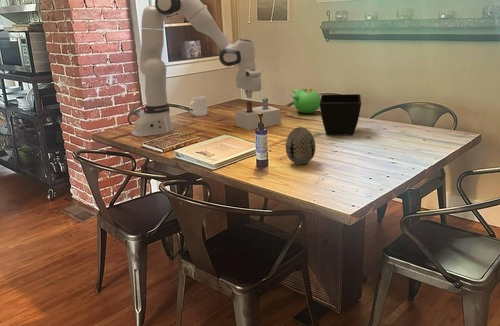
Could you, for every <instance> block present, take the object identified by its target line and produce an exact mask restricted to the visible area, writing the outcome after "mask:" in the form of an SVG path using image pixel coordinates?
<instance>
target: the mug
mask: <svg viewBox="0 0 500 326" xmlns="http://www.w3.org/2000/svg"><path fill="white" fill-rule="evenodd" d="M191 107H192V110H191ZM189 111H190V113H191V114H192V115H193V116H194V117H204V116H207V114H208V106H207V97H206V96H204V95H203V96H202V95H199V96H198V95H196V96H193V97H191V102H190V104H189Z"/></svg>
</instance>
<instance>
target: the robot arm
mask: <svg viewBox="0 0 500 326" xmlns="http://www.w3.org/2000/svg"><path fill="white" fill-rule="evenodd" d="M178 14H181V15H183V16H184V17H185V19H186V20H187V21H188V22H189V24H190V25H191V26H192V27H193V28H194V29H195V30H196V31H197V32H198V33H202V34H204V35H206V36H208V37H210V38H211V39H212V41H214V43H215V44H216V46H217V47H218V48H219V49H220V52H219V54H218V56H219V57H218V58H219V61H220V63H221V64H222V65H223V66H225V67H233V66H238V71H237V74H236V78H235V80H236V81H235V83H236V87H237V88H238V89H242V90H243V92H244V93H245V98H246V99H252V98H253V93H254V92H261V90H262V78H261V76H262V72H261V71H260V70H259V69H258V68H257V67H256V66H257V65H256V61H255V58H256V52H255V46H254V45H255V44H254V43H253V41H252V40H250V39H245V38H239V39H237V41H236V42H234V43H232V42H231V41H230V40H229V38H228V37H226V34H224V33H223V31H222V30H221V29H220V27H219V26H218V24H217V23H216V21H215V20H214V17H213V16H212V14H211V13H210V11H209V10H208V9H207V7H206V6H205V4H204V3H203V2H202V1H201V0H155V1H154V5H148V6H146V7H144V9H143V10H142V14H141V15H142V17H141V26H140V27H141V47H140V48H141V49H140V55H139V56H140V58H139V70H140V73H142V75H143V76H144V83H145V84H144V94H145V102H146V105H145V106H144V105H141V106H140V109H141V111H143V113H142V115H140V116H139V117H138V118H137V120H135V123H134V129H133V130H131V132H130V133H131V135H132V136H134V137H138V138H139V137H141V138H143V137H149V136H156V135H164V134H168V133H169V132H172V131H173V130H174V129H175V128H174V126H173V122H172V119H171V116H170V106H169V105H170V104H169V101H168V96H167V66H166V63H165V62H164V61H163V60H162V57H163V56H162V54H163V49H164V45H165V44H164V42H165V41H164V40H165V39H164V34H165V33H164V23H165V22H164V21H165V19H166V18H170V17H174V16H176V15H178Z"/></svg>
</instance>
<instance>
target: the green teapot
mask: <svg viewBox="0 0 500 326" xmlns="http://www.w3.org/2000/svg"><path fill="white" fill-rule="evenodd" d="M291 91H292V92H293V93H294V95H292V99H293V105H294V108H295V110H297V112H300V113H302V114H311V113H314V112H317V110H319V109H320V100H321V95H320V94H319V93H318V92H317V91H316V90H315V89H313V87H308V88H303V89H300V90H299V89H296V88H294V87H292V88H291Z"/></svg>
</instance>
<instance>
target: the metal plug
mask: <svg viewBox="0 0 500 326" xmlns="http://www.w3.org/2000/svg"><path fill="white" fill-rule="evenodd" d="M262 106H263V110H266V109H268V106H269V99H268V97H267V98H265V97H264V98H262Z"/></svg>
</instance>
